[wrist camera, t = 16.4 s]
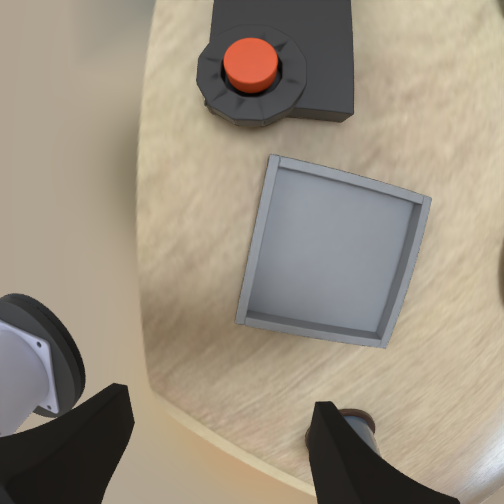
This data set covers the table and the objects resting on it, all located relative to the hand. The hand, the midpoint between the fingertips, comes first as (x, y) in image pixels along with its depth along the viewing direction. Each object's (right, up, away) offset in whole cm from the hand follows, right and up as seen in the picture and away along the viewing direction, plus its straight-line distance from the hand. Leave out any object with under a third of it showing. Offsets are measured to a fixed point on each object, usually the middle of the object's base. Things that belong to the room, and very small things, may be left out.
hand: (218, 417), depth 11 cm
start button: (+1, +15, +3) cm, 15 cm away
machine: (+3, +23, +5) cm, 24 cm away
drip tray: (+6, +6, +9) cm, 13 cm away
